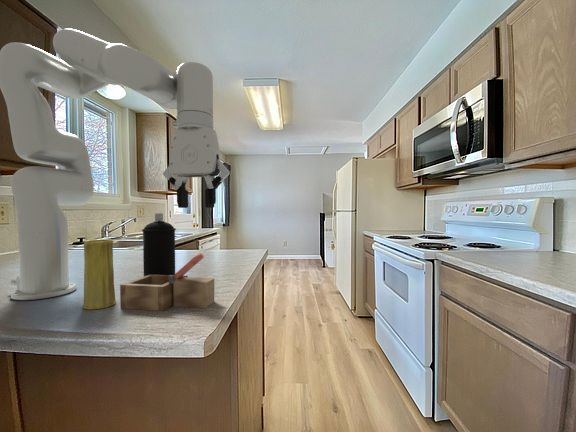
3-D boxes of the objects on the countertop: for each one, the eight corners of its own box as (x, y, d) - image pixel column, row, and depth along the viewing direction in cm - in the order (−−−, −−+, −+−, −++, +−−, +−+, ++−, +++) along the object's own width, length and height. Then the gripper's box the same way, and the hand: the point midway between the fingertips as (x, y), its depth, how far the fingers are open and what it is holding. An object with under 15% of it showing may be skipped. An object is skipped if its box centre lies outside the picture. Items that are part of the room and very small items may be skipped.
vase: (99, 311, 60) (98, 242, 60) (75, 309, 61) (73, 241, 61) (122, 301, 66) (121, 239, 66) (99, 300, 67) (98, 238, 67)
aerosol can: (183, 286, 79) (182, 213, 79) (158, 294, 72) (157, 213, 71) (161, 283, 83) (160, 213, 82) (135, 290, 75) (134, 213, 75)
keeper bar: (172, 281, 63) (169, 278, 63) (179, 278, 66) (177, 275, 66) (200, 257, 62) (197, 254, 62) (206, 255, 65) (203, 252, 65)
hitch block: (120, 308, 62) (120, 277, 62) (150, 294, 72) (149, 268, 71) (199, 312, 59) (199, 280, 59) (219, 298, 69) (219, 270, 68)
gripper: (148, 121, 61) (150, 207, 61) (226, 117, 58) (227, 207, 59) (169, 131, 68) (170, 208, 69) (239, 127, 66) (239, 207, 66)
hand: (196, 206), depth 64 cm, fingers open, 5 cm apart
